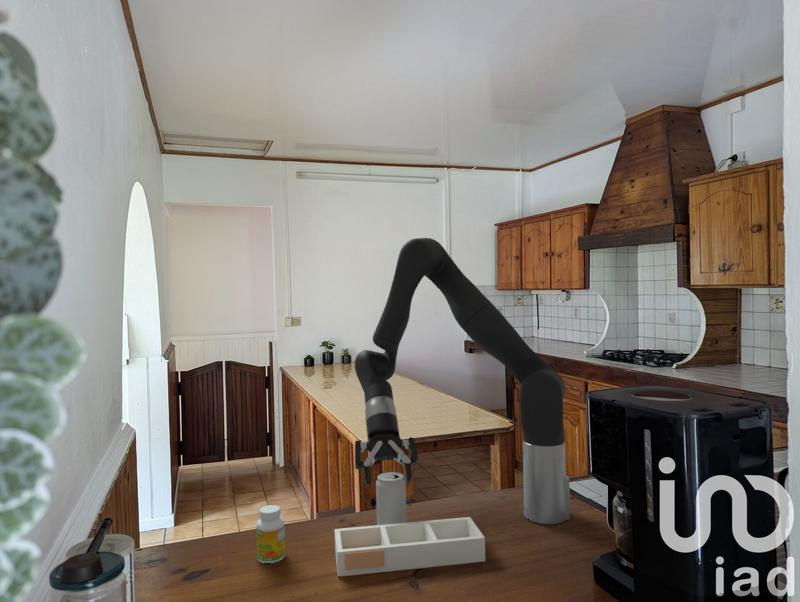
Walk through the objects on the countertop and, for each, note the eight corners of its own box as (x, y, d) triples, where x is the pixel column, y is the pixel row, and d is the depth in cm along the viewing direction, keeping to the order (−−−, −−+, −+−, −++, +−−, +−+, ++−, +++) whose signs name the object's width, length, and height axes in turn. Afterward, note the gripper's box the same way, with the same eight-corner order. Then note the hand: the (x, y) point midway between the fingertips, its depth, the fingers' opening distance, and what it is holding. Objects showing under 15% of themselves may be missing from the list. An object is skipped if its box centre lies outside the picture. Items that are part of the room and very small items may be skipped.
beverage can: (406, 537, 117) (405, 480, 117) (376, 537, 117) (374, 481, 117) (406, 524, 123) (405, 470, 123) (378, 524, 124) (376, 471, 123)
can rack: (470, 538, 116) (470, 516, 116) (486, 562, 106) (485, 538, 106) (335, 551, 111) (334, 529, 111) (337, 577, 101) (337, 553, 101)
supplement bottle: (251, 562, 108) (250, 512, 108) (267, 549, 113) (265, 502, 113) (275, 566, 106) (274, 515, 106) (290, 553, 111) (289, 505, 111)
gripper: (352, 413, 130) (357, 478, 119) (412, 409, 132) (422, 473, 121) (351, 430, 136) (356, 493, 124) (409, 426, 138) (418, 488, 127)
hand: (389, 483), depth 123 cm, fingers open, 8 cm apart
